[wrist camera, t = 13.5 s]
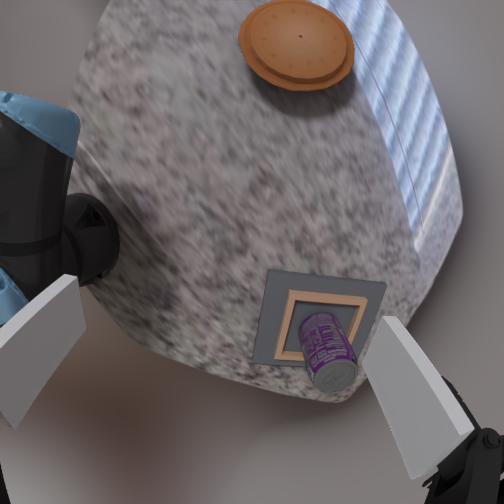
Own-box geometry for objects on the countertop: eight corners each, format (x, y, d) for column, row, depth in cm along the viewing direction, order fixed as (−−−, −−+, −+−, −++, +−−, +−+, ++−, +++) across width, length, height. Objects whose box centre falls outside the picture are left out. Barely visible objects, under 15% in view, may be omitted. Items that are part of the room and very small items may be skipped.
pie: (296, -4, 26) (301, -20, 22) (366, 64, 30) (380, 55, 26) (217, 44, 30) (212, 30, 25) (290, 117, 34) (296, 112, 29)
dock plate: (251, 359, 47) (251, 367, 45) (268, 269, 41) (269, 275, 39) (352, 363, 48) (355, 371, 46) (384, 282, 42) (390, 288, 40)
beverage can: (319, 349, 45) (335, 399, 34) (288, 333, 44) (299, 385, 32) (346, 321, 43) (371, 368, 32) (316, 302, 42) (336, 350, 30)
